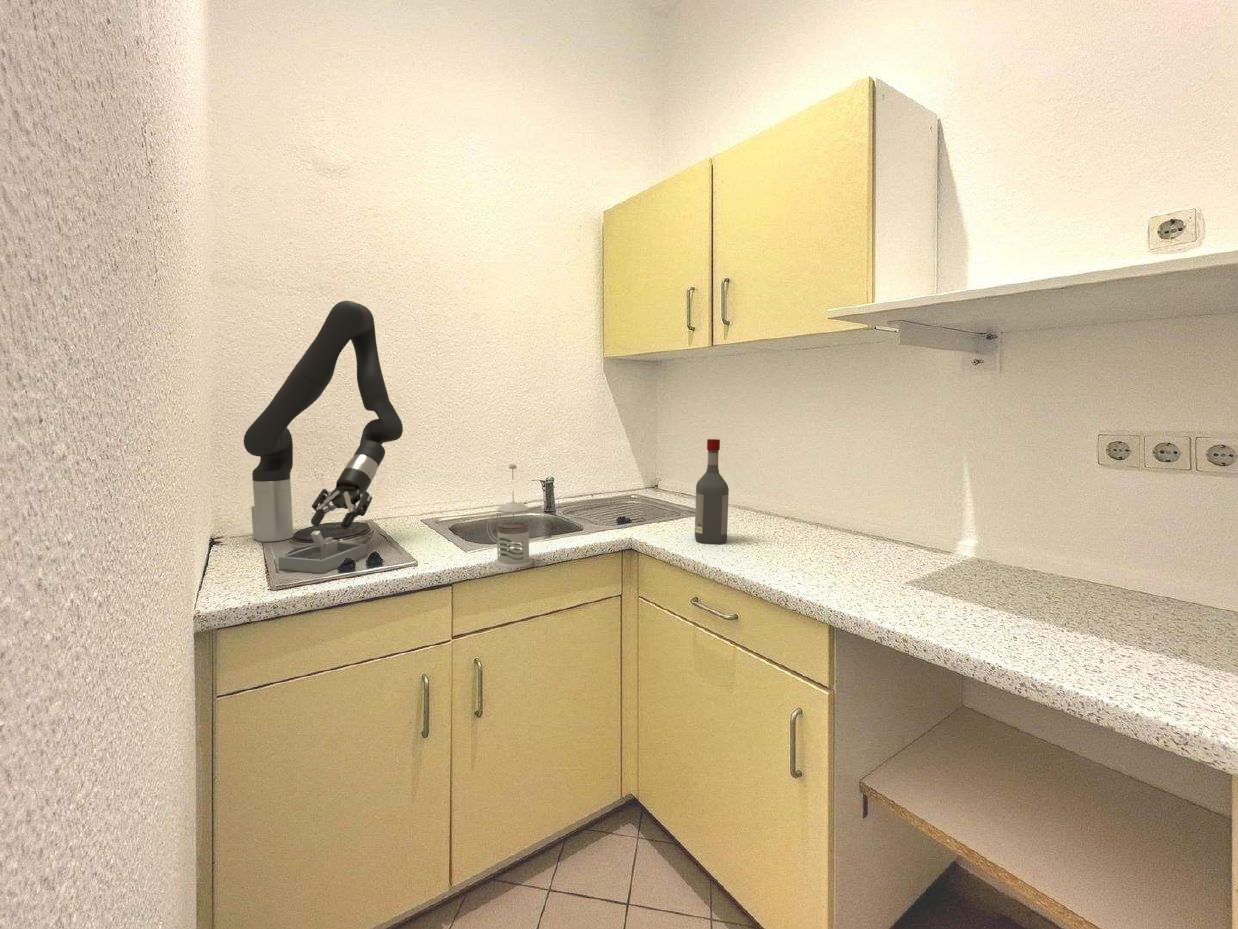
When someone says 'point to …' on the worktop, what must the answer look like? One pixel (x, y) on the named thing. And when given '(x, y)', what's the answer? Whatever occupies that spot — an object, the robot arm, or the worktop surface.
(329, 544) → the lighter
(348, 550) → the tray
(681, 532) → the worktop surface
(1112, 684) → the worktop surface
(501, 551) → the french press
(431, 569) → the worktop surface
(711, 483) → the liquor
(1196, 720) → the worktop surface
